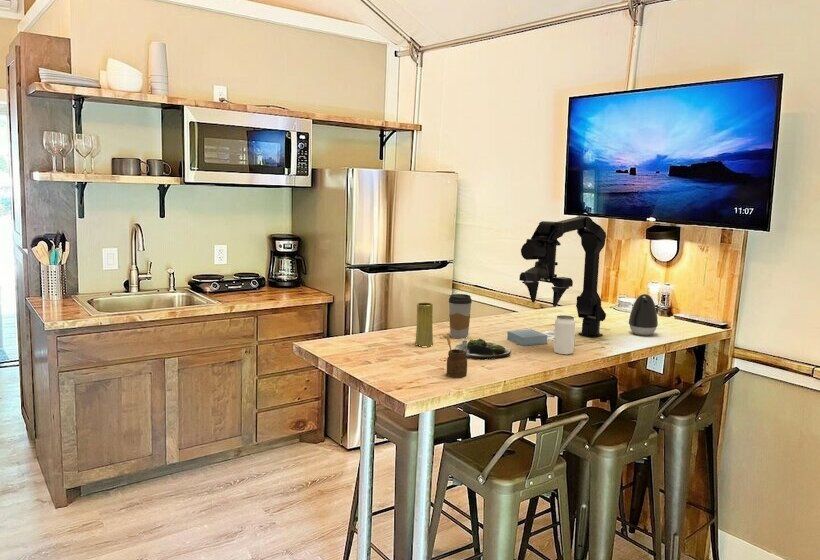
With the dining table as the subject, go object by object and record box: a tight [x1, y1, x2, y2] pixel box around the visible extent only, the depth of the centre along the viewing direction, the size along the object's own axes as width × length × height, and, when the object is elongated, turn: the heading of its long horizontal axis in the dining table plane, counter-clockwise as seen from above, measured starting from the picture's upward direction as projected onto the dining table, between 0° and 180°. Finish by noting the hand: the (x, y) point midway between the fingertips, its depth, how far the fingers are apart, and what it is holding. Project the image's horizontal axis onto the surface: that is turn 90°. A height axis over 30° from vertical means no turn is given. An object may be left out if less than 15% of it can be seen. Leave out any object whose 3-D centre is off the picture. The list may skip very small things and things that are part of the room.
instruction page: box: [541, 330, 555, 341], centre depth 237 cm, size 12×9×1 cm
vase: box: [414, 302, 434, 347], centre depth 220 cm, size 6×6×14 cm
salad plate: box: [454, 338, 512, 361], centre depth 213 cm, size 19×18×5 cm
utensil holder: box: [445, 333, 468, 378], centre depth 187 cm, size 6×6×12 cm
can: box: [553, 314, 576, 356], centre depth 213 cm, size 6×6×12 cm
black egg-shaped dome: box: [628, 293, 659, 336], centre depth 241 cm, size 10×10×15 cm
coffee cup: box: [448, 293, 473, 339], centre depth 232 cm, size 8×8×15 cm
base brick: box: [506, 328, 548, 347], centre depth 228 cm, size 10×10×3 cm
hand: (543, 304), depth 219 cm, fingers open, 9 cm apart
